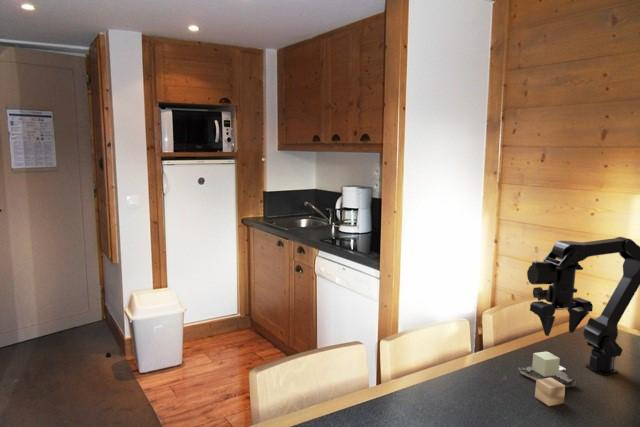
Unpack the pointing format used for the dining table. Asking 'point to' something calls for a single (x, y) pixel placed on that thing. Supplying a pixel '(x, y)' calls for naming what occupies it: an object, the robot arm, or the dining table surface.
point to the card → (561, 368)
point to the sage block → (545, 363)
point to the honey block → (550, 391)
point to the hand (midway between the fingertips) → (558, 334)
